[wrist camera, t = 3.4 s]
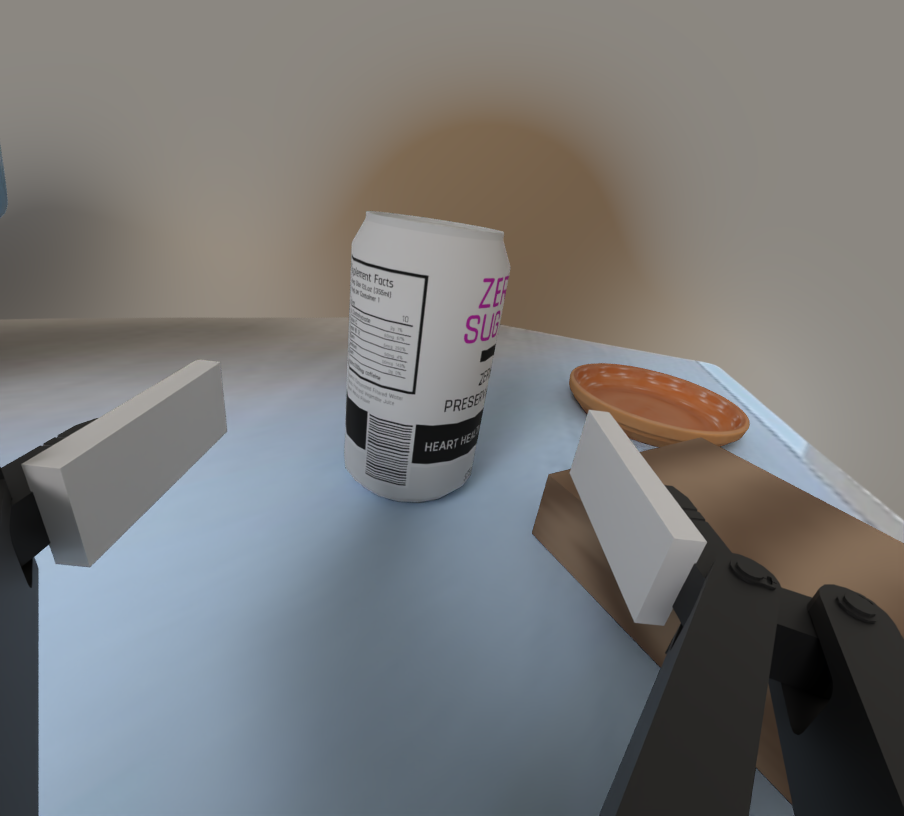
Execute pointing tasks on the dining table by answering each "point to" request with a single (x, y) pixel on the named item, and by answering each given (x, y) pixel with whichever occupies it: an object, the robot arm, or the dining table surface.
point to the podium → (734, 548)
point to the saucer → (657, 405)
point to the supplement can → (420, 351)
